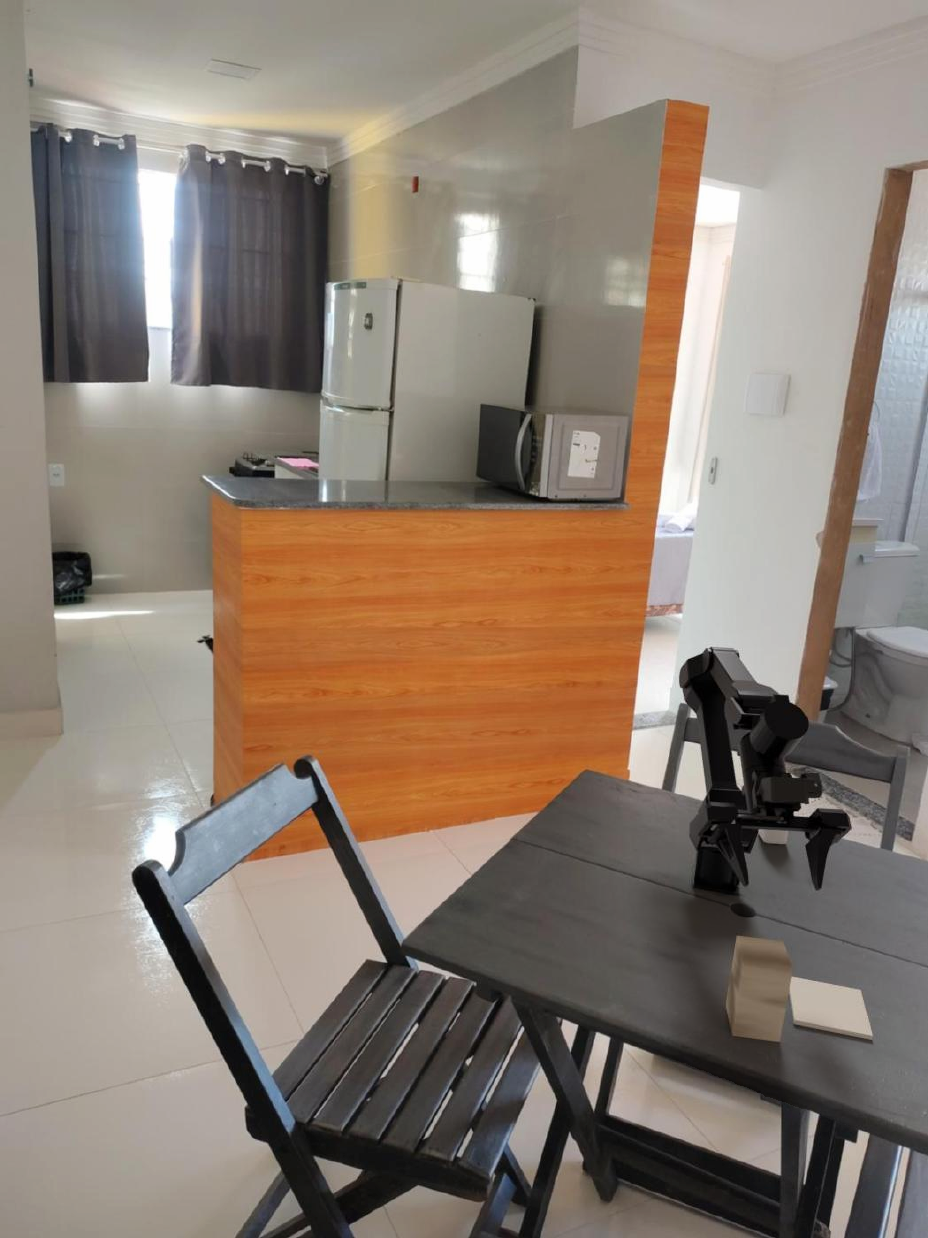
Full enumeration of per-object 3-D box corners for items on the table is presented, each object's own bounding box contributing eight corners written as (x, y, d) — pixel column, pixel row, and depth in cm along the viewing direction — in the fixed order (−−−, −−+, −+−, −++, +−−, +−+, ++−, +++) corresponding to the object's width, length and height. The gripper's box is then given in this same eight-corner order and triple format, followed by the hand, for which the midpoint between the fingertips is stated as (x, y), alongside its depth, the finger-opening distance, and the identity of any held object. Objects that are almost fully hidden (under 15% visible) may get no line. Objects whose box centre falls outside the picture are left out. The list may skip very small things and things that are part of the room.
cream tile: (793, 1024, 114) (794, 1019, 114) (787, 979, 123) (787, 975, 122) (872, 1040, 112) (872, 1036, 112) (859, 994, 121) (860, 990, 121)
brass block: (725, 1005, 117) (736, 935, 114) (770, 1011, 116) (782, 941, 114) (732, 1035, 111) (744, 962, 109) (779, 1042, 111) (793, 969, 108)
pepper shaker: (787, 845, 159) (795, 794, 156) (763, 844, 159) (772, 793, 156) (779, 834, 163) (788, 784, 160) (756, 833, 163) (764, 782, 160)
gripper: (712, 743, 119) (727, 862, 111) (856, 751, 120) (882, 870, 111) (690, 779, 129) (702, 891, 120) (824, 786, 129) (845, 899, 120)
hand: (782, 887), depth 118 cm, fingers open, 9 cm apart
